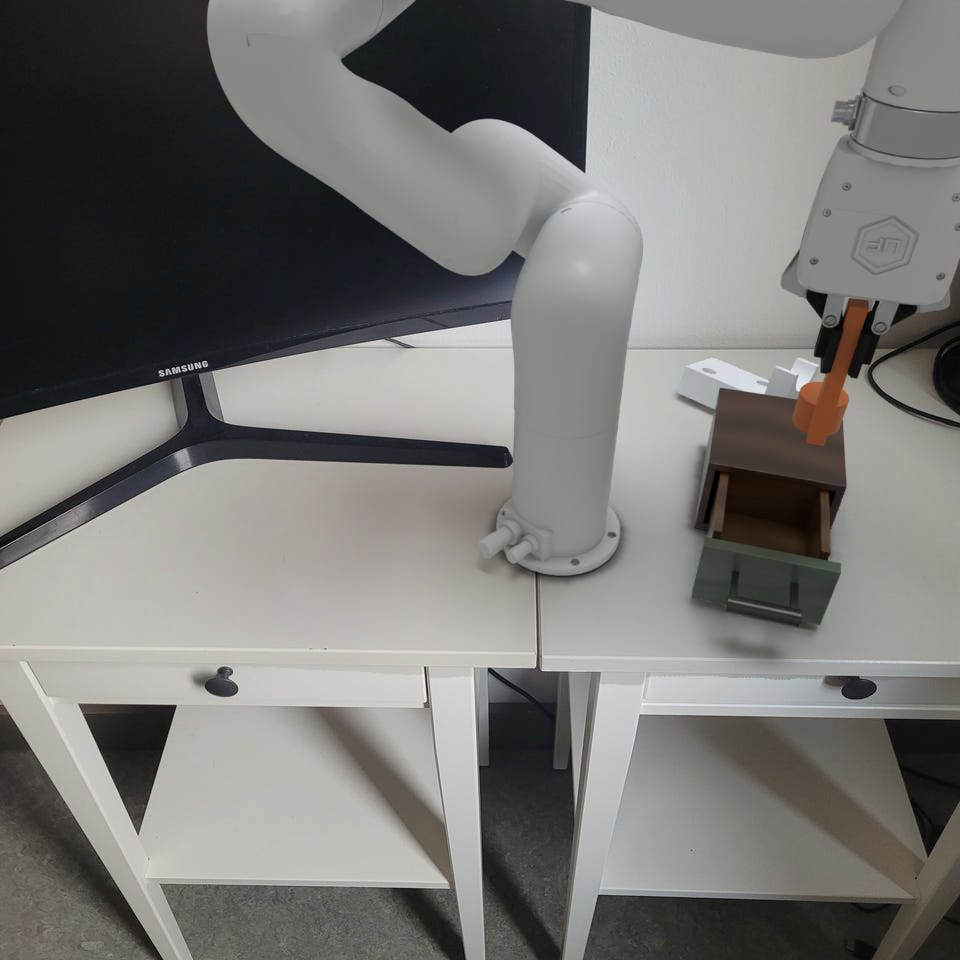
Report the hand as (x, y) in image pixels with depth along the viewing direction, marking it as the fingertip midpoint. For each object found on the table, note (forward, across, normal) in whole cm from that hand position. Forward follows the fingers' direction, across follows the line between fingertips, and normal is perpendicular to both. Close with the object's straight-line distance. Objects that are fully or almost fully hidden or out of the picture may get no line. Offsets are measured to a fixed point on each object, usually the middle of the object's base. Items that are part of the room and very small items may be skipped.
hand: (838, 366), depth 65 cm
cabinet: (+23, -2, +10) cm, 25 cm away
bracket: (+23, -6, +27) cm, 36 cm away
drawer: (+22, -2, -3) cm, 22 cm away
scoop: (+7, 0, +2) cm, 8 cm away
